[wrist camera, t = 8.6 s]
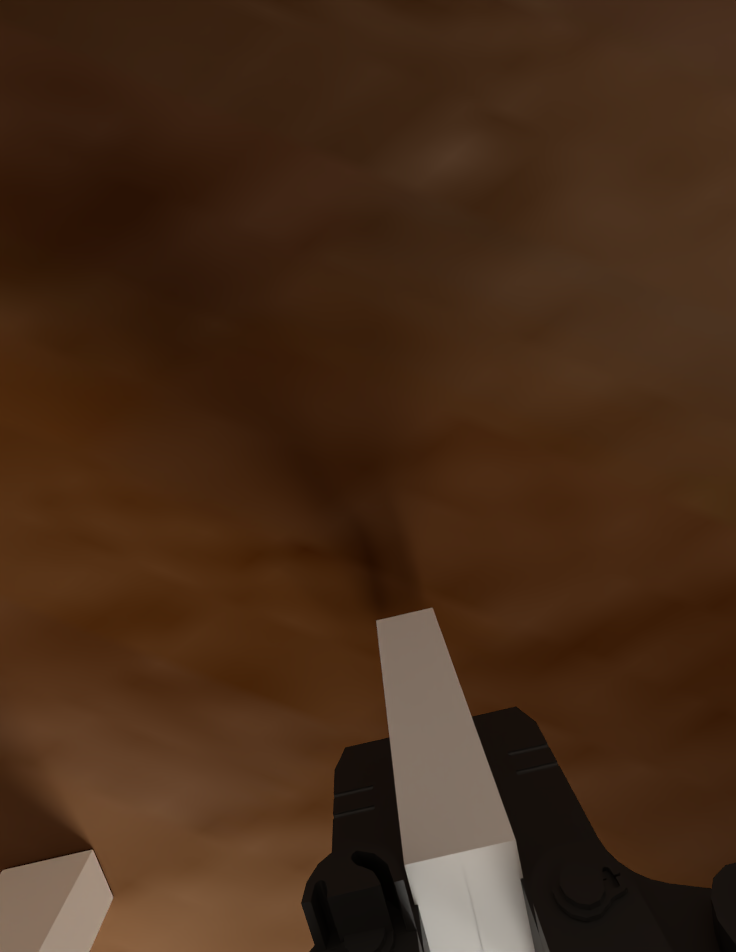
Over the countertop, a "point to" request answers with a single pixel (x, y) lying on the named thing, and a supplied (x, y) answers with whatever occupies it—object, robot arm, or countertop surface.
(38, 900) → the bridge
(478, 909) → the robot arm
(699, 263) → the countertop surface
